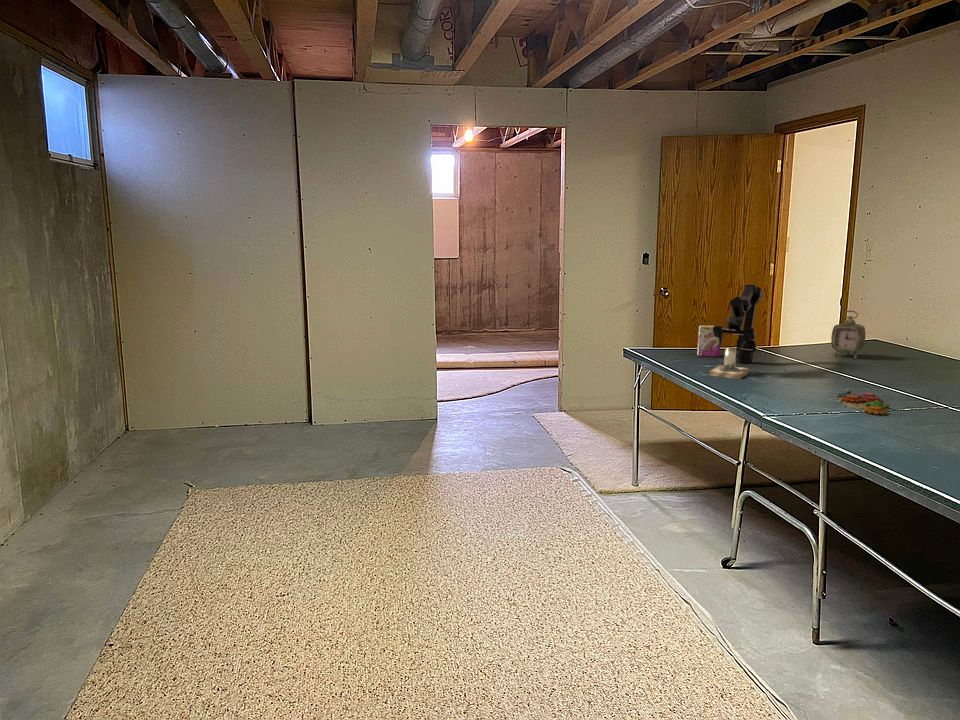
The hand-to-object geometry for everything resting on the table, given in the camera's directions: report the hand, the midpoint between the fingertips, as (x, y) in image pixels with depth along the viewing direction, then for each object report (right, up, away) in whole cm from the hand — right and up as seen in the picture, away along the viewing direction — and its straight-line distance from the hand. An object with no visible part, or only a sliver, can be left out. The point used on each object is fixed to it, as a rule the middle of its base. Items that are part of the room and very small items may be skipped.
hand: (730, 346), depth 328 cm
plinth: (+1, -13, +4) cm, 14 cm away
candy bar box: (+6, -4, +51) cm, 51 cm away
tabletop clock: (+80, -5, +47) cm, 93 cm away
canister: (+1, -11, +3) cm, 11 cm away
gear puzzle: (+32, -25, -55) cm, 69 cm away
